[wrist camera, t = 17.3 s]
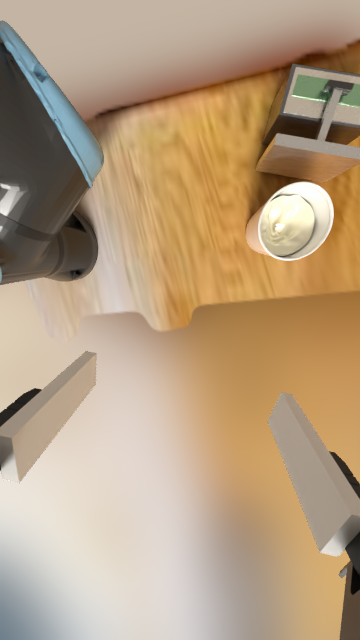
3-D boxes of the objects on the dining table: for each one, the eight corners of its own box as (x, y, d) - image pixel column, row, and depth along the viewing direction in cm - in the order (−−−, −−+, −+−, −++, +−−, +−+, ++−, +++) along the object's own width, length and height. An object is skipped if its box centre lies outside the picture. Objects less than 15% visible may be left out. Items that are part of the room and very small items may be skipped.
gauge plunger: (255, 170, 34) (273, 144, 26) (269, 117, 32) (294, 68, 23) (323, 182, 34) (365, 160, 25) (343, 129, 31) (396, 85, 23)
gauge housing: (261, 143, 34) (279, 113, 26) (271, 106, 32) (293, 62, 24) (331, 156, 33) (369, 128, 26) (344, 118, 32) (389, 77, 24)
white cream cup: (244, 202, 37) (263, 182, 26) (298, 202, 36) (343, 180, 25) (238, 257, 40) (253, 260, 29) (288, 257, 39) (323, 260, 28)
